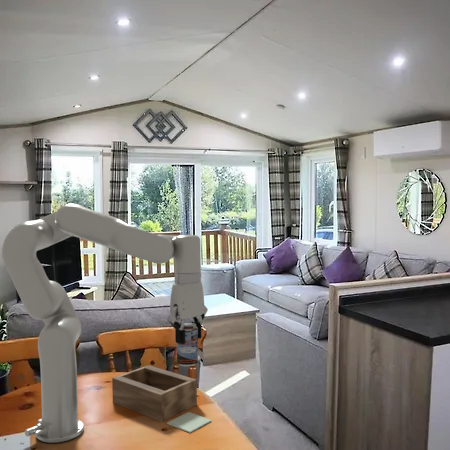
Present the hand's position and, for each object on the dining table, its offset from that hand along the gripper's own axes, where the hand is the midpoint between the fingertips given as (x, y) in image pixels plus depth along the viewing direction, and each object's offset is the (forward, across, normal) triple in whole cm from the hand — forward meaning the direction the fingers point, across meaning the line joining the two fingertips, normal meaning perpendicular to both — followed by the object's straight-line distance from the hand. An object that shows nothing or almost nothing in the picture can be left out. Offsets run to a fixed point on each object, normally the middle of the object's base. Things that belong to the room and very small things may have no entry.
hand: (188, 339), depth 138 cm
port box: (+24, -3, -18) cm, 30 cm away
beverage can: (+7, 0, 0) cm, 7 cm away
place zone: (+24, 0, 0) cm, 24 cm away
